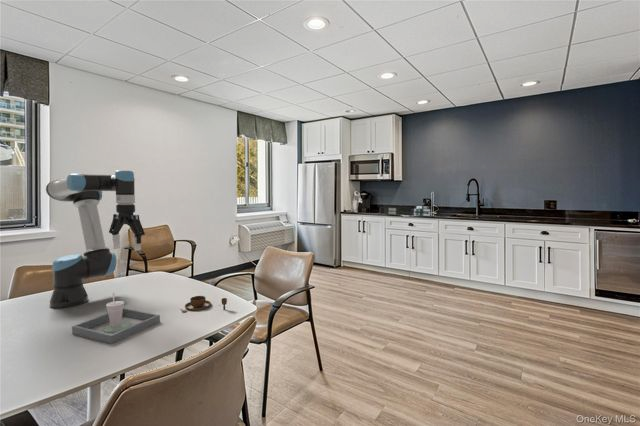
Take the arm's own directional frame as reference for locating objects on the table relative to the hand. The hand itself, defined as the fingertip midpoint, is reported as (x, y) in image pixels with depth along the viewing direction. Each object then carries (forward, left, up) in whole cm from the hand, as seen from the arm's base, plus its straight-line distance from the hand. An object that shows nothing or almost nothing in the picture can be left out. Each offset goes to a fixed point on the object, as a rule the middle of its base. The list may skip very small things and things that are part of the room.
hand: (127, 249), depth 153 cm
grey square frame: (+14, -16, -29) cm, 36 cm away
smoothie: (+13, -16, -29) cm, 35 cm away
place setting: (+31, +14, -29) cm, 45 cm away
